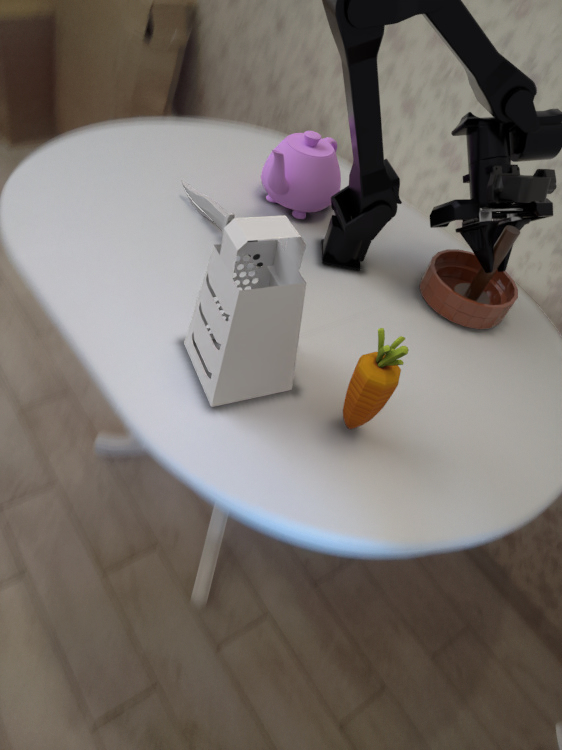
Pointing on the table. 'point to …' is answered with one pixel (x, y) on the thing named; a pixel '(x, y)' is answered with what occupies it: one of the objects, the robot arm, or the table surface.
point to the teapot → (302, 173)
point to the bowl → (440, 296)
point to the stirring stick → (482, 279)
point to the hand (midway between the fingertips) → (495, 272)
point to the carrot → (373, 382)
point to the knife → (212, 211)
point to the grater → (249, 312)
